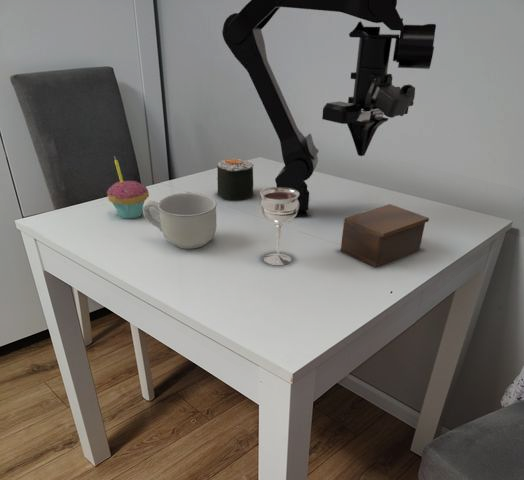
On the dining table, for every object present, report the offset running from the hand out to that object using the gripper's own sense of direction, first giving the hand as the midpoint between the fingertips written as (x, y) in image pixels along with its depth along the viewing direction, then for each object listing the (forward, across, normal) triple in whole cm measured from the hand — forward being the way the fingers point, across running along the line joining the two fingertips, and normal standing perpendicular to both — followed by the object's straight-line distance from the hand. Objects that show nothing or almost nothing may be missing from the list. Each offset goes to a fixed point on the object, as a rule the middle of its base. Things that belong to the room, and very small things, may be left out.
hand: (361, 155), depth 99 cm
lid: (+7, -9, -15) cm, 19 cm away
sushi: (+13, -12, +28) cm, 33 cm away
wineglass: (+13, -27, -6) cm, 31 cm away
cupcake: (+13, -38, +30) cm, 50 cm away
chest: (+13, -9, -15) cm, 22 cm away
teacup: (+13, -37, +11) cm, 40 cm away
